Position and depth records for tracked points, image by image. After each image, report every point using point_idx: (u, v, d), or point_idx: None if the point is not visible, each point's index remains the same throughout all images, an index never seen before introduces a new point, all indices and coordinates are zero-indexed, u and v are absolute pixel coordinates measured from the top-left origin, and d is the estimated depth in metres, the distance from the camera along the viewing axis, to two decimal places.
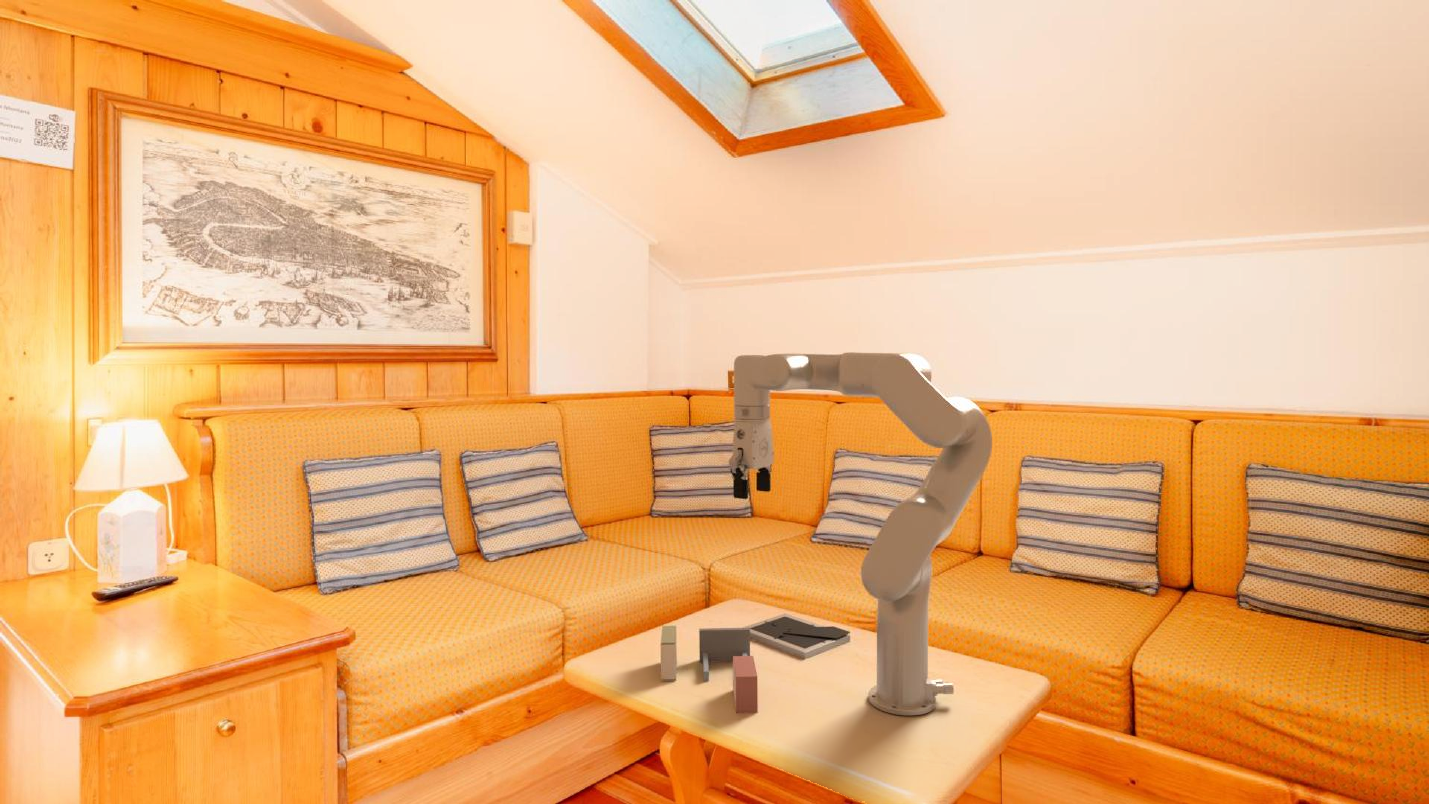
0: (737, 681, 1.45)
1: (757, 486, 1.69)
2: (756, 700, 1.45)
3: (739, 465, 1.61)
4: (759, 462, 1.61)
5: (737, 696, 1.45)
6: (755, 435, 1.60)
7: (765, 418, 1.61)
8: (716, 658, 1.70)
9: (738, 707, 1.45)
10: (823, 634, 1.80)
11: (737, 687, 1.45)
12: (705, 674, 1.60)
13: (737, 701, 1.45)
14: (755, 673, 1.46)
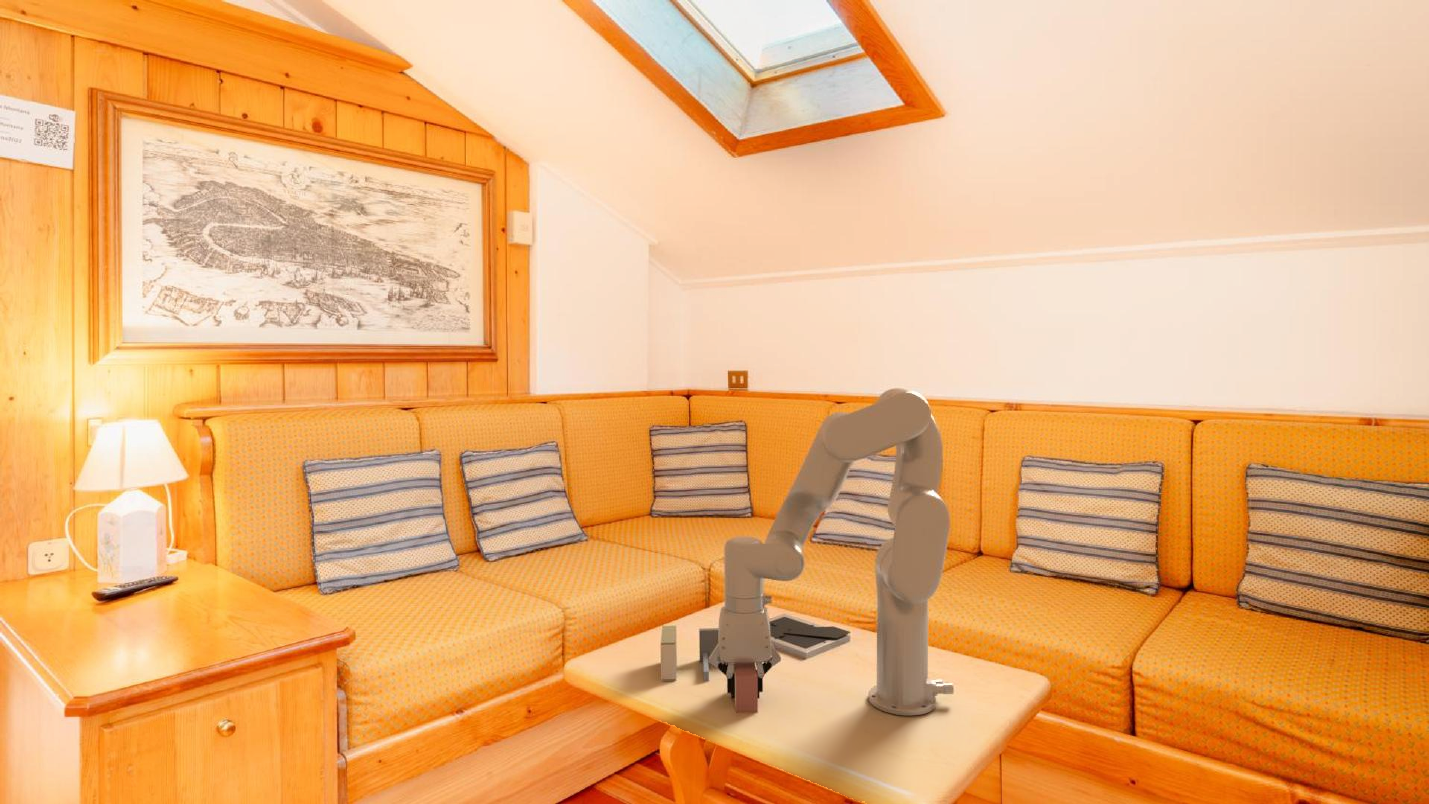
0: (737, 680, 1.45)
1: (734, 693, 1.49)
2: (756, 699, 1.45)
3: None
4: None
5: (737, 695, 1.45)
6: None
7: None
8: None
9: (738, 706, 1.45)
10: (823, 634, 1.80)
11: (737, 686, 1.45)
12: (705, 674, 1.60)
13: (737, 700, 1.45)
14: (755, 672, 1.47)
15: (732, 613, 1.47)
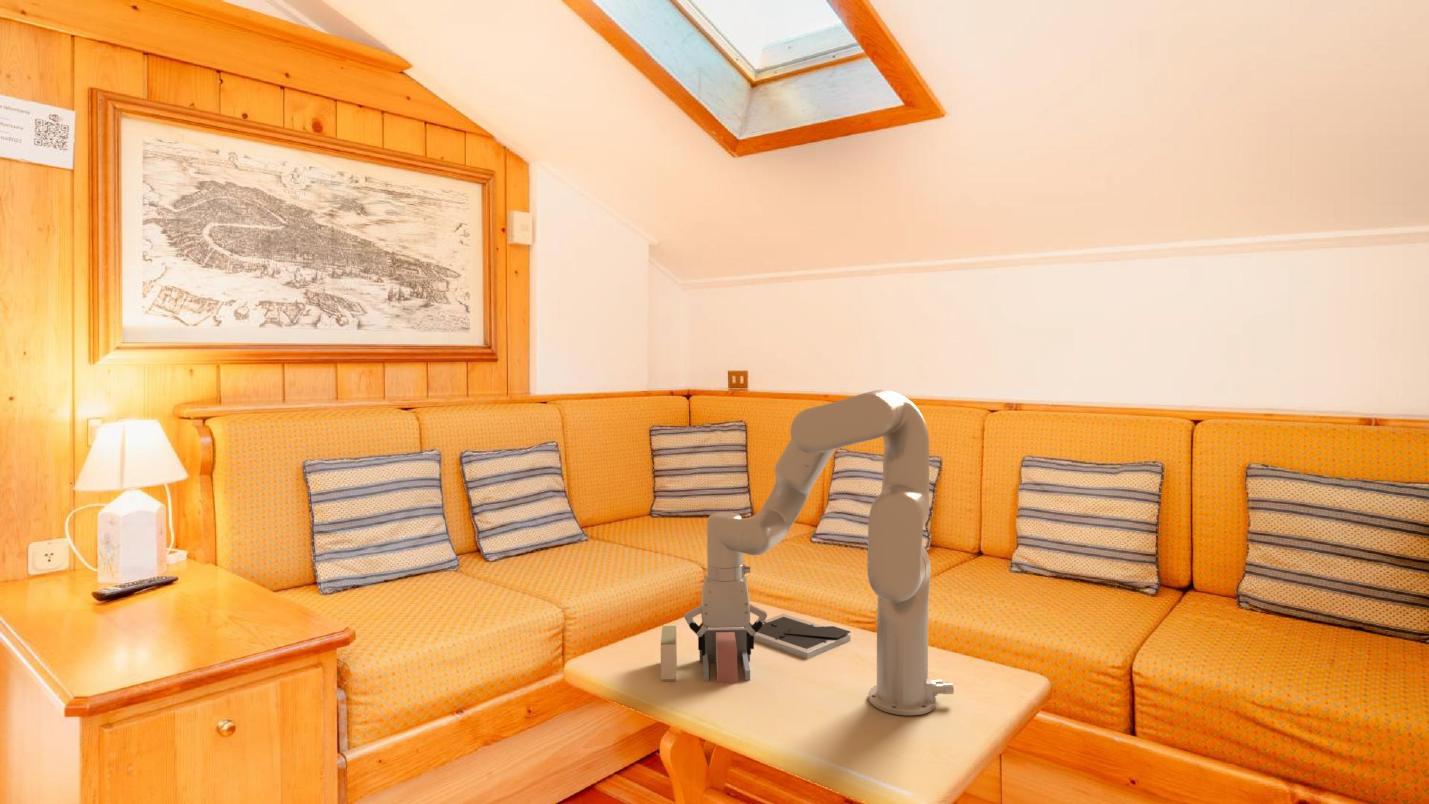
0: (718, 654, 1.58)
1: (704, 651, 1.62)
2: (736, 671, 1.59)
3: None
4: None
5: (718, 667, 1.59)
6: None
7: None
8: None
9: (719, 677, 1.59)
10: (824, 634, 1.80)
11: (718, 659, 1.59)
12: (705, 674, 1.60)
13: (718, 672, 1.59)
14: (735, 647, 1.60)
15: (714, 581, 1.60)
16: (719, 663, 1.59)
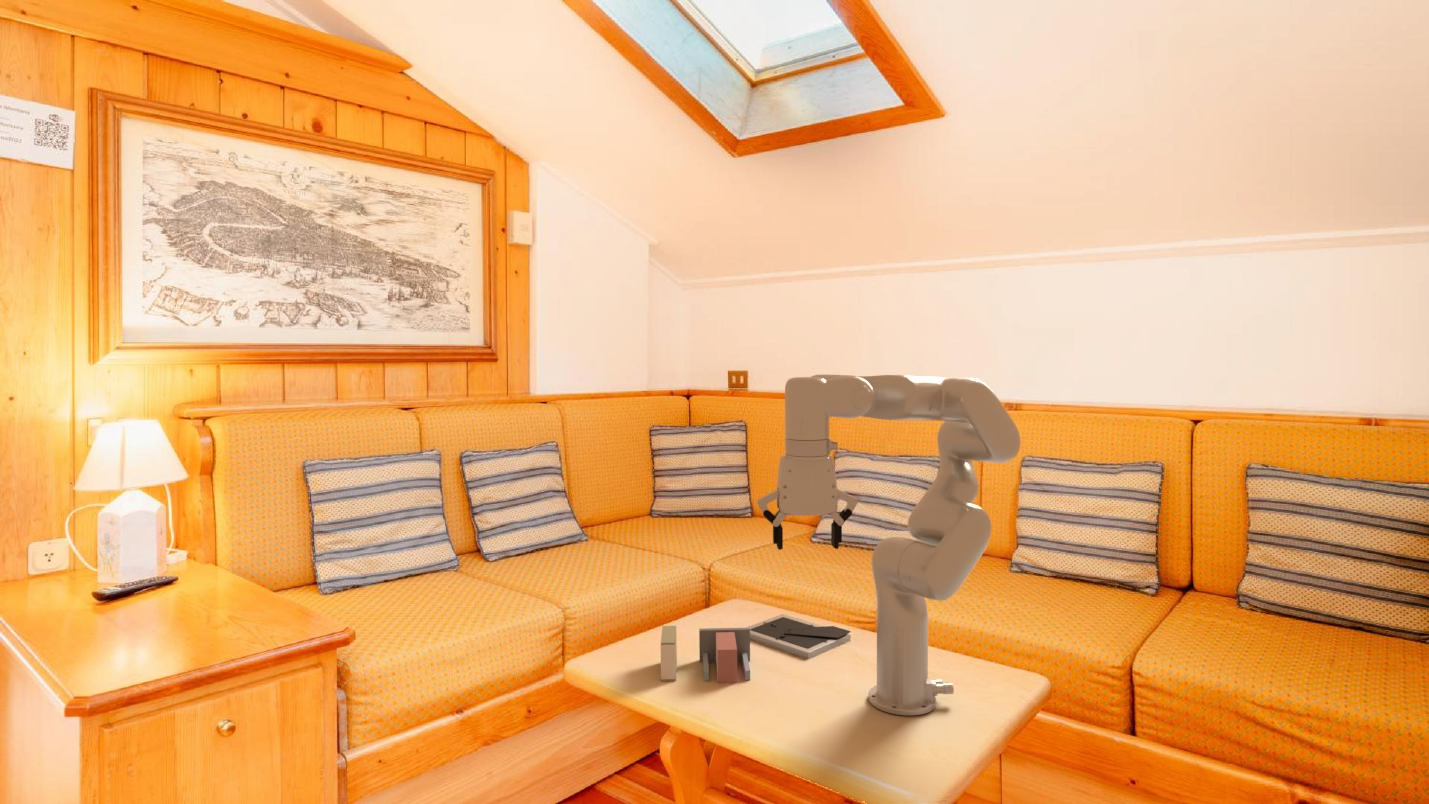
0: (718, 654, 1.58)
1: None
2: (736, 671, 1.59)
3: None
4: None
5: (718, 667, 1.59)
6: None
7: None
8: None
9: (719, 677, 1.59)
10: (824, 634, 1.80)
11: (718, 659, 1.59)
12: (705, 674, 1.60)
13: (718, 672, 1.59)
14: (735, 647, 1.60)
15: (795, 457, 1.31)
16: (719, 663, 1.59)
